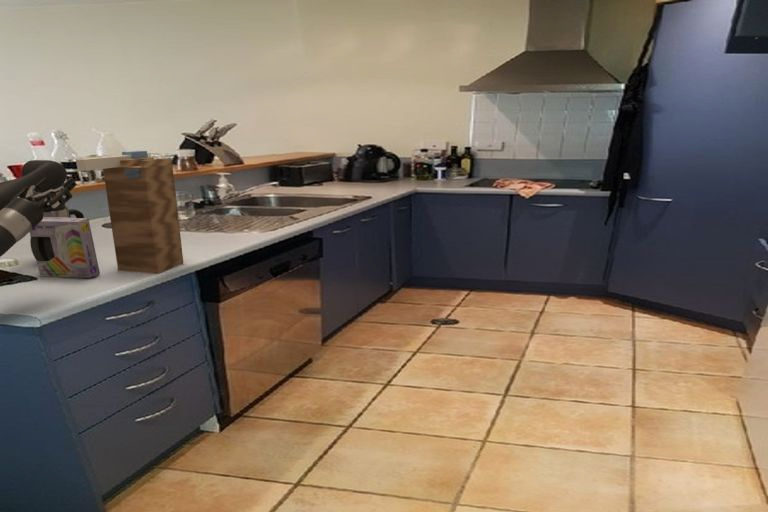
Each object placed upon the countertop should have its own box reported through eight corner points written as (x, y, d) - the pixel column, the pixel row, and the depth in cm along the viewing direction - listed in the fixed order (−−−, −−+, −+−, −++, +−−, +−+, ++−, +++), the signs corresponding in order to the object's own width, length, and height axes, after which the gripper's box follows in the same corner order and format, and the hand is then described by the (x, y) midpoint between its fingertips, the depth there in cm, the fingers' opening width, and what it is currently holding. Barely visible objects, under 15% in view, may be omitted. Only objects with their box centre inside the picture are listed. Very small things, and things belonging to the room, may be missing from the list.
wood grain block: (156, 274, 153) (141, 160, 144) (116, 270, 158) (99, 160, 149) (183, 263, 165) (171, 157, 156) (145, 260, 169) (132, 157, 160)
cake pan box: (34, 276, 153) (23, 218, 148) (49, 271, 157) (38, 215, 153) (88, 280, 148) (78, 221, 144) (101, 275, 153) (92, 217, 149)
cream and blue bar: (87, 170, 138) (85, 155, 137) (76, 170, 139) (73, 155, 138) (150, 163, 160) (149, 150, 159) (140, 163, 161) (138, 150, 160)
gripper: (28, 210, 117) (74, 169, 128) (-17, 207, 121) (31, 168, 132) (47, 234, 122) (90, 192, 133) (4, 230, 126) (48, 191, 137)
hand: (61, 180), depth 133 cm, fingers open, 8 cm apart
